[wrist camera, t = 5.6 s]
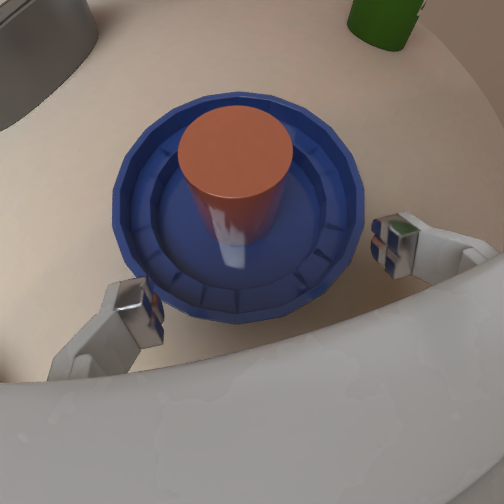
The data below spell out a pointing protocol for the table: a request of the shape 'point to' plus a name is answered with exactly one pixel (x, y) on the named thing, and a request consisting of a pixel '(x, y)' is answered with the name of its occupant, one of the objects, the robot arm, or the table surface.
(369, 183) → the table surface
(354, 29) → the wine bottle
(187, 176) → the terracotta cylinder
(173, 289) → the bowl
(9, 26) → the container
